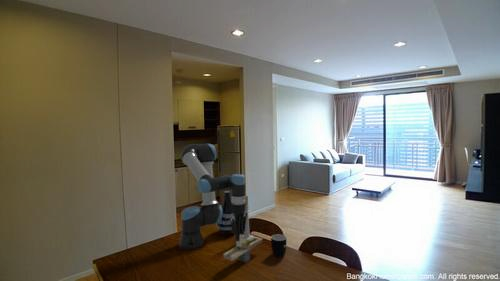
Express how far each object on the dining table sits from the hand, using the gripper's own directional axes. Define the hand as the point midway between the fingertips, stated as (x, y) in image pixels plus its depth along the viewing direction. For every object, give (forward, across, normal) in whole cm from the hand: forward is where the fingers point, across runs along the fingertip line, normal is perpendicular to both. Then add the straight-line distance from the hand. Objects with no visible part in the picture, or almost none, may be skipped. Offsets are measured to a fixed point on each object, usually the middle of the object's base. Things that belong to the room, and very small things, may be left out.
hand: (239, 245), depth 141 cm
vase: (+10, +28, +34) cm, 45 cm away
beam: (+9, +4, 0) cm, 10 cm away
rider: (+3, +3, 0) cm, 4 cm away
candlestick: (+10, +26, +15) cm, 32 cm away
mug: (+10, +22, -12) cm, 27 cm away
